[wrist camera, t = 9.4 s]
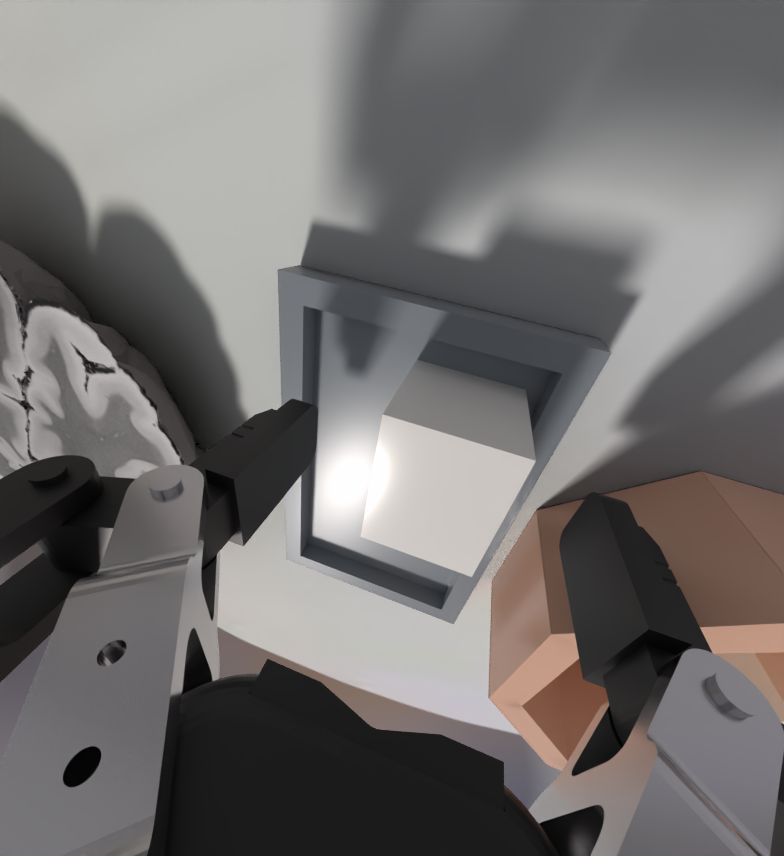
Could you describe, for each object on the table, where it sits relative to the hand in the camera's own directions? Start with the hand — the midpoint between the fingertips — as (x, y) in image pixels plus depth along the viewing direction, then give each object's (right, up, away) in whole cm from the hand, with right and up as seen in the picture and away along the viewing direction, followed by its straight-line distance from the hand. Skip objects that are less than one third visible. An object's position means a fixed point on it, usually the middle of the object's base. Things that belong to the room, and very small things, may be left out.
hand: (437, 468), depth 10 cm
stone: (+1, +1, +2) cm, 2 cm away
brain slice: (-17, +3, +8) cm, 19 cm away
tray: (-1, -1, +4) cm, 4 cm away
